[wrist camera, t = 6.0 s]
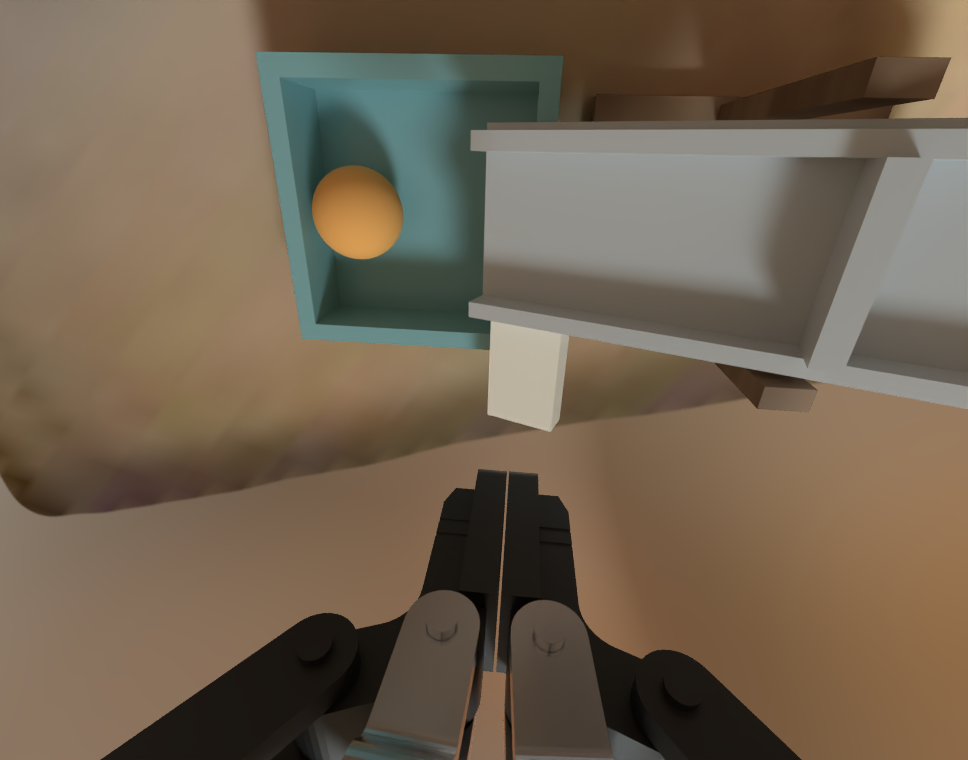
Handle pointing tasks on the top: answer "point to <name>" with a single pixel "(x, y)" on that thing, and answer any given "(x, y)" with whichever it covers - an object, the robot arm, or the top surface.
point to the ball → (357, 212)
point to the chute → (728, 251)
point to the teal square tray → (396, 181)
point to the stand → (818, 97)
